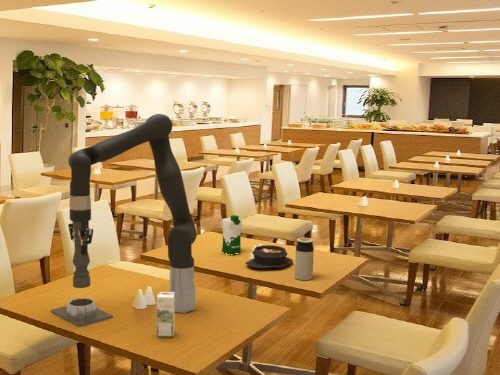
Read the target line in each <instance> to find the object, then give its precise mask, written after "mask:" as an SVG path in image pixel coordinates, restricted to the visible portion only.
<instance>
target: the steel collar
mask: <svg viewBox="0 0 500 375" xmlns="http://www.w3.org/2000/svg"><path fill="white" fill-rule="evenodd" d="M50 313H52V314H54V315H56V316H58V317H59V318H61V319H63V320H65V321H67V322H68V321H69V322H68V323H70V322H71V324H72V325H74V326H76V327H77V328H81V327H83V326H84V327H85V326H89V325H91V324H96V323H99V322H102V321H105V320H106V321H107V320H110V319H113V318H114V315H113V314H111V313H109V312H106V311H104V310H102V309H100V308H98V307H97V300H96V299H94V298H91V297H77V298H76V297H75V298H72V299H69V300H67V301H66V306H60V307H57V308H54V309H50Z"/></svg>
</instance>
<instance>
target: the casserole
mask: <svg viewBox="0 0 500 375" xmlns="http://www.w3.org/2000/svg"><path fill="white" fill-rule="evenodd" d="M251 253H252V255H253V258H252V259H250V260H247V261H246V262H245V265H246V266H249V267H251V268H256V269H268V268H274V269H279V268H283V267H286V266H288V265H289V264H291V263H293V262H294V260H293V259H292V258H290V257H287V256H288V252H287V251H286V248H284V247H283V246H278V245H271V244H270V245H269V244H268V245H267V244H265V245H258V246H256V247H254V250H253V251H252V252H251Z"/></svg>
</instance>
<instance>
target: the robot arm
mask: <svg viewBox="0 0 500 375" xmlns="http://www.w3.org/2000/svg"><path fill="white" fill-rule="evenodd" d="M172 130H173V121H172V119H171V118H170V117H169V116H168V115H166V114H164V113H156V114H153V115H151V116H148V118H147V119H146V121H145V122H142V123H141V124H140V125H138V126H136V127H134V128H131V129H130V130H127V131H124V132H121V133H120V134H115V135H113V136H112V137H108V138H106V139H105V140H102V141H100V142H97V143H96V144H94V145H91V146H87V147H85V148H81V149H79V150H76V151H74V152H72V153H71V154H70V155H69V157H68V163H67V164H68V165H69V167H70V170H71V171H70V172H71V173H70V174H71V180H70V183H69V220H70V222H71V223H68V225H67V227H68V231H69V236H70V240H72V241H73V243H74V248H75V247H76V243H75V238H74V237H73V236H74V235H75V231H74V230H73V223H72V221H73V222H82V229H81V231H80V230H79V229H78V231H79V233H78V235H79V238H80V240H81V254H82V255H87V254H89V250H88V249H89V248H88V246H89V244H90V245H91V244H92V241H93V235H94V229H93V228H90V225H88V221H89V222H90V221H91V220H92V198H91V183H90V180H91V175H92V174H91V173H92V166H93V165H95V164H98V163H105V162H107V161H110V160H112V159H113V158H116V157H118V156H120V155H122V154H123V153H126V152H128V151H129V150H131V149H133V148H135V147H137V146H140V145H143V144H145V143H149V146H150V149H151V152H152V155H153V161H154V162H153V163H154V169H155V172H156V179H157V184H158V187H159V192H160V193H161V194H160V195H161V196H162V199H163V200H164V201H165V203H166V205H167V207H168V208H169V210H170V214H171V217H172V222H173V223H172V224H173V226H172V228H170V230H169V231H168V235H167V252H168V253H167V257H168V258H167V259H168V261H169V292H175V312H174V313H180V314H186V313H188V312H192V311H194V310H196V286H195V258H194V257H193V255H192V254H193V253H192V245H193V244H194V243H195V241H196V239H197V233H198V232H197V229H196V227H195V223H194V220H193V217H192V214H191V211H190V208H189V204H188V202H189V201H188V197H187V194H186V193H187V192H186V189H185V184H184V179H183V175H182V174H183V173H182V171H181V168H180V166H179V164H178V161H177V159H176V158H175V155H174V153H173V150H172V147H171V141H170V134H171V132H172ZM82 235H85V236H82ZM83 239H84V241H83Z"/></svg>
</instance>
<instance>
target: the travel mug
mask: <svg viewBox="0 0 500 375" xmlns="http://www.w3.org/2000/svg"><path fill="white" fill-rule="evenodd" d="M296 241H297V244H296V245H295V266H294V278H295V279H296V280H298V279H299V281H310V280H312V279H313V273H314V272H313V271H314V249H315V248H314V244H313V242H314V241H315V240H314V239H313V238H310V237H299V238H298V237H297V239H296Z"/></svg>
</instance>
